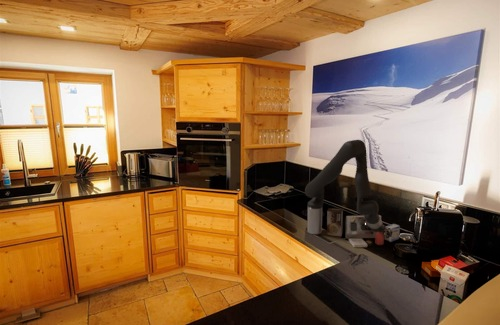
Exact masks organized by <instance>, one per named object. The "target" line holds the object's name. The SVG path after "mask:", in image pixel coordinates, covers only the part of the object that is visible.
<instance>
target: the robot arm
mask: <svg viewBox="0 0 500 325" xmlns="http://www.w3.org/2000/svg"><path fill="white" fill-rule="evenodd" d="M367 154H368V153H367V147H366V143H365V142H364V141H363V140H361V139H352V140H348V141H346V142H344V143H343V144H342V145H341V147H340V148H339V150H338V151H337V153H336V154H335V155H334V156H333V157H332V159H331V160H330V161H329V162H328V163H326V165H325V166H324V167H323V168H322V170H321V171H320V172H319V173H318V174H317V176H315V177H314V178H313V179H312V180H311V181H310V182H308V183H307V185H306V186H305V188H304V193H305V196H307V197H308V198H311V199H310V200H309V201H307V233H308V234H311V235H321V234H322V231H323V229H322V228H323V227H322V226H323V205H324V201H325V200H324V198H325V186H327V185H329V184H331V183H332V182H334V181H335V180H336V179H337V178H339V176H340V175H341V173H343V172H342V171H343V168H344V165H345V164H347V162H349V161H350V160H353V159H355V163H356V169H355V175H354V184H355V185H354V186H355V190H356V194H357V195H356V196H357V197H356V198H357V199H356V212H357V214H359V216H364V217H365V219H366V222H367V223H366V222H365V225H364V227H365V229H366V230H369V231H370V233H371V234H374V232H379V233H381V234H383V235H384V236H385V235H386V237H387V238H390V237H391V236H392V231H391V229H390V228H388V229H385V228H384V227H385V226H384V223H383V221H382V217H381V218H380V217H379V215H380V214H379V210H380V209H379V204H378V202H377V201H376V200H374V199H373V200H364V198H367V197H370V196H372V189H371V188H372V187H371V185H370V178H369V172H368V161H367V160H368V159H367V157H368V156H367ZM386 232H387V233H386Z"/></svg>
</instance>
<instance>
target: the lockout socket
mask: <svg viewBox="0 0 500 325" xmlns="http://www.w3.org/2000/svg"><path fill="white" fill-rule="evenodd" d="M348 242H349V243H350V244H351V245H352V247H353V248H368V243H367V242H366V241H365V240H364V238H352V239H348Z"/></svg>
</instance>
